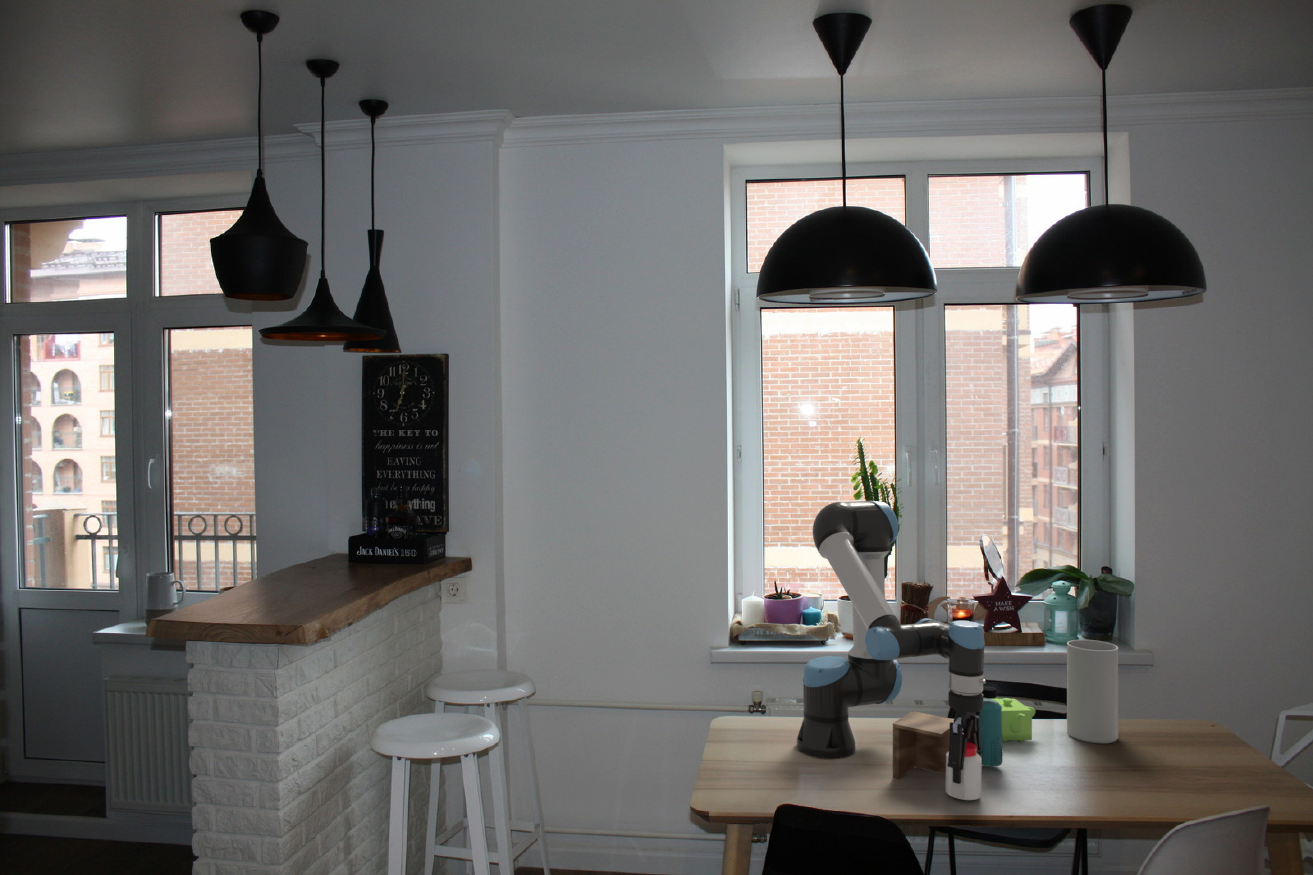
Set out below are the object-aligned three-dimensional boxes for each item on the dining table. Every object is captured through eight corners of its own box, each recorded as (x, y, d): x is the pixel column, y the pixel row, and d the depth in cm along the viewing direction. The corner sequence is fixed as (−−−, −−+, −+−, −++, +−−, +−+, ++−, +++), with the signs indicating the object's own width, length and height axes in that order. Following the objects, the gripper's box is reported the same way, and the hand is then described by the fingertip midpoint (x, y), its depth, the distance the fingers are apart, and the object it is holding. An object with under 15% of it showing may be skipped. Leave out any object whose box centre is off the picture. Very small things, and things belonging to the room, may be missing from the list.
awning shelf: (892, 778, 214) (892, 723, 214) (912, 763, 223) (912, 711, 223) (941, 791, 207) (941, 734, 206) (959, 775, 216) (959, 720, 216)
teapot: (1024, 751, 232) (1024, 710, 232) (973, 740, 240) (973, 701, 240) (1041, 735, 244) (1041, 696, 244) (991, 725, 252) (991, 688, 252)
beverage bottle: (1005, 773, 217) (1005, 692, 216) (976, 771, 218) (976, 690, 218) (1000, 763, 223) (1000, 684, 223) (972, 762, 224) (972, 683, 224)
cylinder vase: (1060, 727, 250) (1061, 639, 249) (1108, 729, 248) (1108, 640, 248) (1075, 743, 237) (1075, 650, 237) (1125, 745, 236) (1125, 651, 235)
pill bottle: (940, 786, 206) (940, 739, 206) (972, 785, 207) (972, 738, 207) (954, 800, 198) (954, 752, 198) (987, 799, 199) (988, 751, 199)
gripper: (966, 705, 191) (965, 810, 192) (997, 683, 208) (995, 779, 208) (932, 698, 196) (931, 800, 197) (965, 677, 212) (963, 771, 213)
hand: (964, 789), depth 203 cm, fingers closed on pill bottle, 8 cm apart
